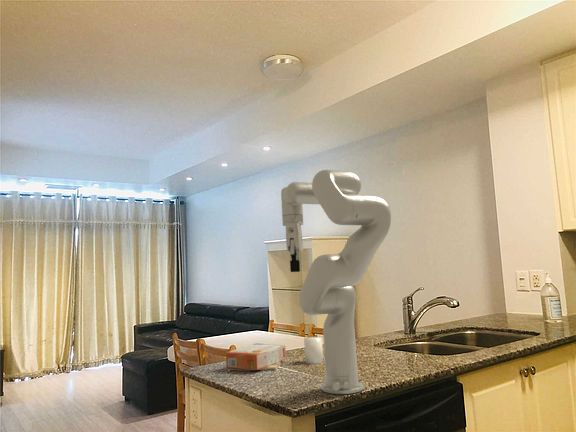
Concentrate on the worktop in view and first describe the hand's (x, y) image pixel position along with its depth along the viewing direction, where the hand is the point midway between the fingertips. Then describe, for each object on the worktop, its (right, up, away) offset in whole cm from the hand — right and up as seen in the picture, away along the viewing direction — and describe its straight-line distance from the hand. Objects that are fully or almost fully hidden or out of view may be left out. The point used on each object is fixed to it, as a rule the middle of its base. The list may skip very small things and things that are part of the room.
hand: (295, 271), depth 155 cm
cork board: (-15, -38, +12) cm, 42 cm away
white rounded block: (+8, -37, +15) cm, 41 cm away
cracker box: (-20, -33, +3) cm, 39 cm away
